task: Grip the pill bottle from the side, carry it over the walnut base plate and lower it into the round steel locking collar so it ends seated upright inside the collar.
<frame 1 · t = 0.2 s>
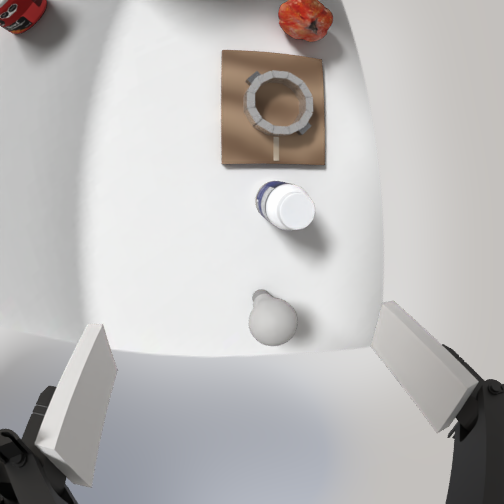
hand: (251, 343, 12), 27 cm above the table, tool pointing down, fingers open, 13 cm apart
locking collar: (278, 103, 32), on the base plate, point 2 cm above the table
pomegranate: (296, 27, 31), on the table
lightbulb: (259, 294, 42), on the table
canned food: (29, 16, 20), on the table
pill bottle: (273, 199, 39), on the table
base plate: (273, 106, 34), on the table
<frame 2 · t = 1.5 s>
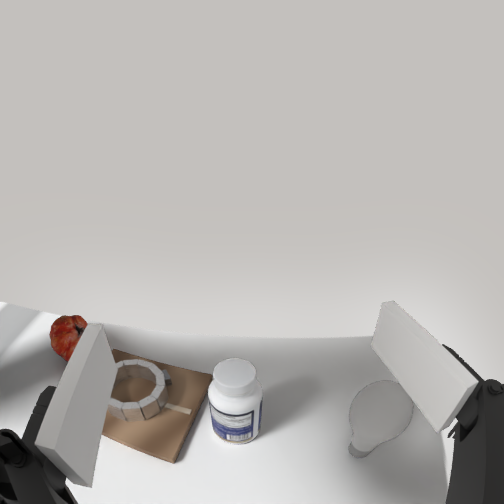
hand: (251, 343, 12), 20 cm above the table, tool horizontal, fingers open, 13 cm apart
locking collar: (132, 389, 29), on the base plate, point 2 cm above the table
pomegranate: (78, 356, 36), on the table
lightbulb: (356, 453, 24), on the table
pill bottle: (236, 428, 28), on the table
base plate: (137, 400, 30), on the table
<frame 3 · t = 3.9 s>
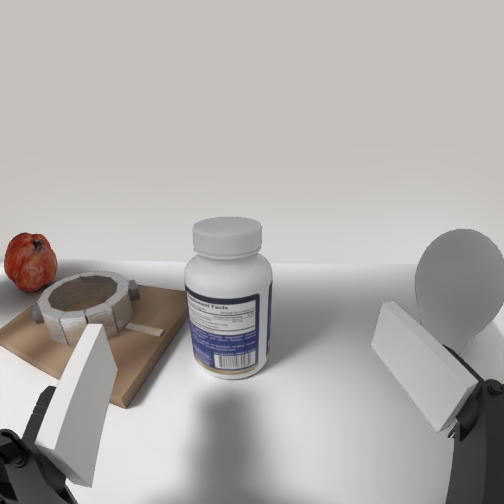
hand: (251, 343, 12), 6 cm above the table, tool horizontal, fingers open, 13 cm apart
locking collar: (85, 304, 21), on the base plate, point 2 cm above the table
pomegranate: (36, 288, 28), on the table
lightbulb: (421, 385, 16), on the table
pill bottle: (231, 358, 20), on the table
base plate: (91, 326, 22), on the table
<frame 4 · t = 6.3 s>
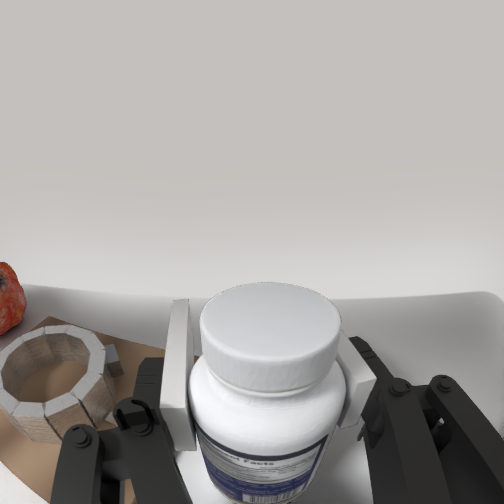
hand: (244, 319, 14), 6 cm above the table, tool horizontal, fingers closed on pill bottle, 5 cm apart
locking collar: (50, 378, 13), on the base plate, point 2 cm above the table
pomegranate: (4, 328, 19), on the table
pill bottle: (260, 468, 11), on the table, touching gripper
base plate: (63, 402, 13), on the table
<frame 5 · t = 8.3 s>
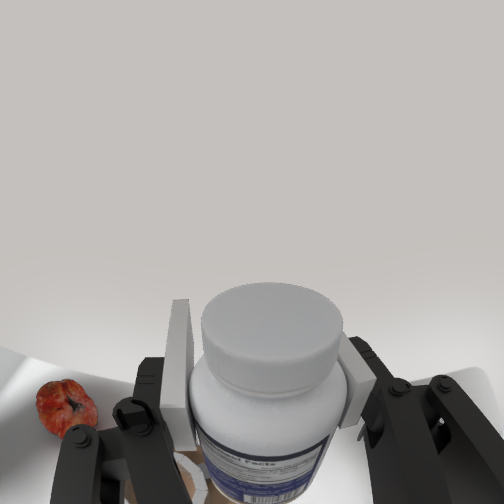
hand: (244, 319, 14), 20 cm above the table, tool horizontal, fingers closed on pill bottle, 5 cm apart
locking collar: (160, 490, 17), on the base plate, point 2 cm above the table
pomegranate: (77, 427, 24), on the table
pill bottle: (261, 468, 11), point 13 cm above the table, touching gripper
base plate: (166, 498, 18), on the table
when the fingers open (8 cm above the table, at t = 10.7 s): pill bottle drops 1 cm, resting on base plate.
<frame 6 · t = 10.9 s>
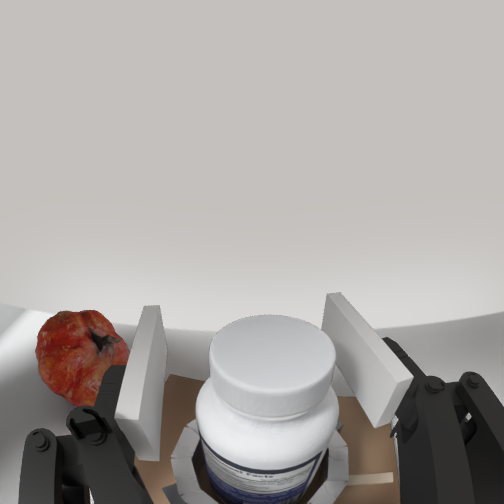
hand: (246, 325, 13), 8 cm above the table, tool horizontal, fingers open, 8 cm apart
locking collar: (260, 468, 11), on the base plate, point 2 cm above the table
pomegranate: (95, 390, 18), on the table
pill bottle: (259, 478, 12), point 1 cm above the table, touching base plate
base plate: (259, 482, 12), on the table
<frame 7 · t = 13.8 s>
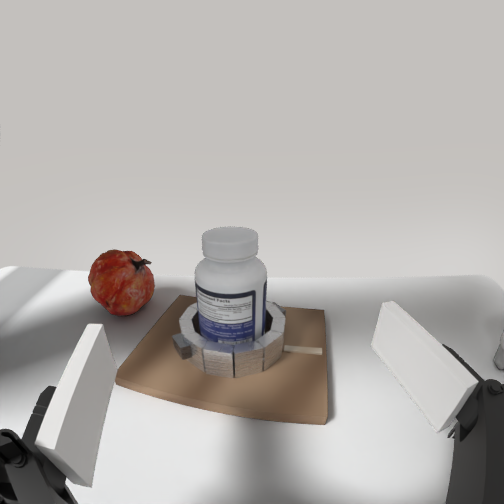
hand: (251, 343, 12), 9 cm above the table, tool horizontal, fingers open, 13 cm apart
locking collar: (232, 331, 23), on the base plate, point 2 cm above the table
pomegranate: (125, 310, 30), on the table
lightbulb: (499, 368, 18), on the table
pill bottle: (232, 345, 24), point 1 cm above the table, touching base plate
base plate: (233, 351, 24), on the table
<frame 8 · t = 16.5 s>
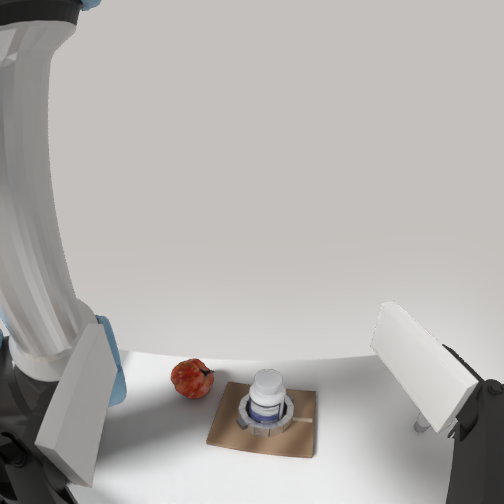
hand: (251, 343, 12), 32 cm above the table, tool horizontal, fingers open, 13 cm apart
locking collar: (266, 412, 40), on the base plate, point 2 cm above the table
pomegranate: (193, 391, 47), on the table
lightbulb: (418, 430, 34), on the table
pill bottle: (265, 417, 40), point 1 cm above the table, touching base plate
base plate: (265, 419, 41), on the table
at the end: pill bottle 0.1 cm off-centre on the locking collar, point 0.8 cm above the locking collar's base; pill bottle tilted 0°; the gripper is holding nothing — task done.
